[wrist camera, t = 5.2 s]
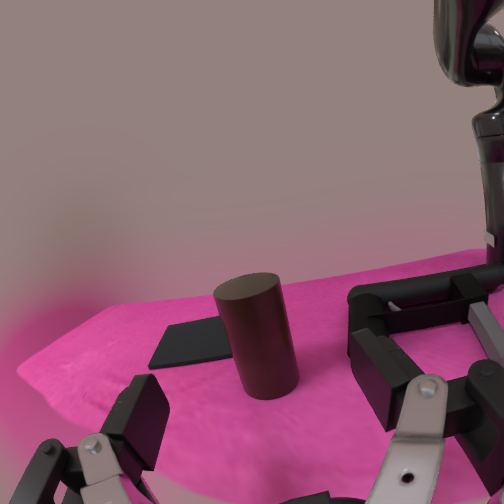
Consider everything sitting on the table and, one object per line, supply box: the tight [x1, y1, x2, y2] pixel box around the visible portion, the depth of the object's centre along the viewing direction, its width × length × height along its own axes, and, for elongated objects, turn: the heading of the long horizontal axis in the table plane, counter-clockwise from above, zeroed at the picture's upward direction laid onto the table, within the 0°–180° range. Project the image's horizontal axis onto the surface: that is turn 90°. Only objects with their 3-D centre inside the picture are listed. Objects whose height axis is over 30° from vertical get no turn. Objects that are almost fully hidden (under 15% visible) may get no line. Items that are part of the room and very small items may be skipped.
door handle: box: [347, 263, 504, 368], centre depth 20 cm, size 3×20×16 cm
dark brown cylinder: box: [213, 273, 299, 400], centre depth 20 cm, size 5×5×9 cm
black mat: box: [148, 316, 233, 369], centre depth 31 cm, size 10×10×1 cm
